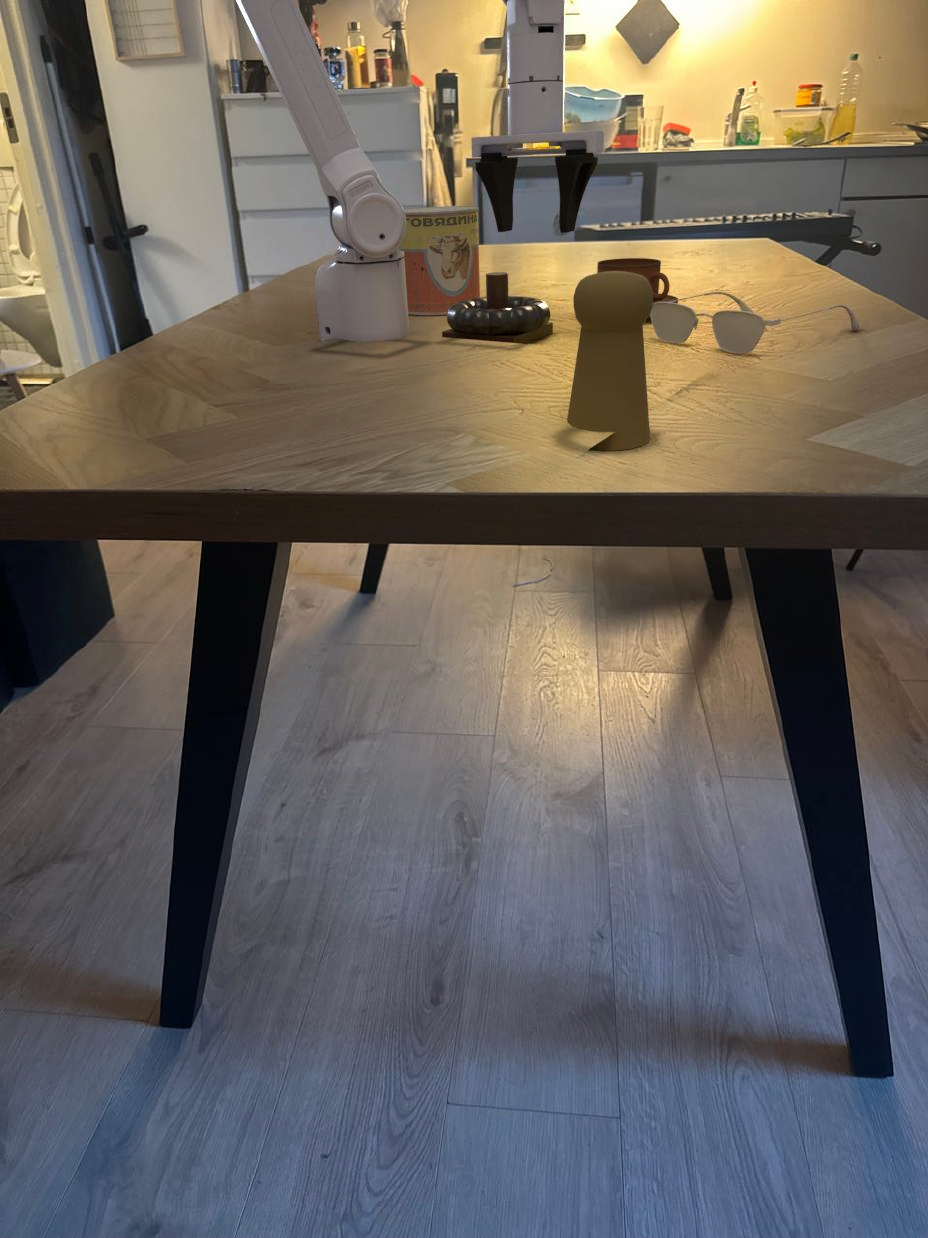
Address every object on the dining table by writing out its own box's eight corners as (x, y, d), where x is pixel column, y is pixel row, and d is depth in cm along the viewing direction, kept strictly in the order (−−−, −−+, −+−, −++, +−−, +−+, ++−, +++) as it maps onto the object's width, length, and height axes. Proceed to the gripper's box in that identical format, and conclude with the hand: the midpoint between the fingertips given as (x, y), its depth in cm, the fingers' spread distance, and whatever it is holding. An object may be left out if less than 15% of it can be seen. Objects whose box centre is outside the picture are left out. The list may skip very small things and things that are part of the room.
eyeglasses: (641, 338, 91) (643, 299, 89) (743, 315, 101) (747, 279, 99) (766, 359, 80) (771, 314, 78) (867, 330, 90) (875, 290, 88)
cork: (557, 428, 63) (559, 269, 58) (637, 423, 64) (647, 264, 58) (573, 453, 58) (577, 280, 53) (660, 447, 58) (673, 275, 53)
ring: (428, 333, 92) (427, 308, 91) (478, 316, 101) (478, 292, 99) (521, 339, 87) (521, 313, 86) (566, 320, 95) (566, 296, 94)
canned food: (415, 318, 108) (409, 213, 102) (385, 307, 117) (377, 210, 111) (495, 309, 112) (493, 207, 106) (460, 298, 121) (456, 204, 115)
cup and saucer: (691, 311, 105) (696, 256, 102) (655, 328, 96) (658, 269, 93) (601, 306, 110) (603, 254, 107) (559, 322, 102) (560, 266, 99)
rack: (442, 342, 94) (438, 277, 90) (484, 328, 100) (482, 266, 97) (513, 348, 89) (512, 280, 86) (553, 333, 96) (553, 269, 92)
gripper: (618, 79, 85) (612, 228, 92) (493, 89, 92) (496, 227, 99) (588, 76, 80) (584, 234, 87) (458, 87, 87) (464, 233, 94)
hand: (535, 231), depth 92 cm, fingers open, 7 cm apart
